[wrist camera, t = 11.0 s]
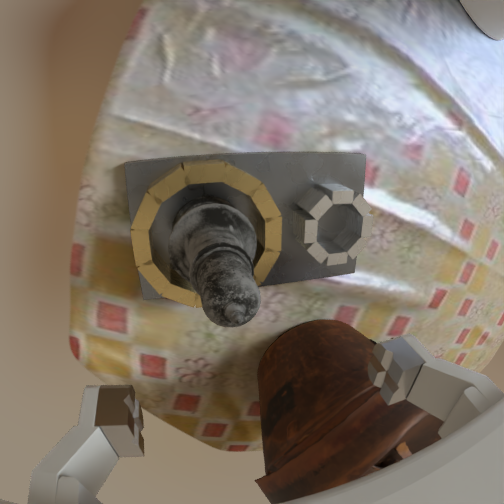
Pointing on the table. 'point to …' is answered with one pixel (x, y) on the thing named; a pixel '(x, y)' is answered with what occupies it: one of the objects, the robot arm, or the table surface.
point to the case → (329, 413)
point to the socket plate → (253, 213)
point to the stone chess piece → (217, 258)
